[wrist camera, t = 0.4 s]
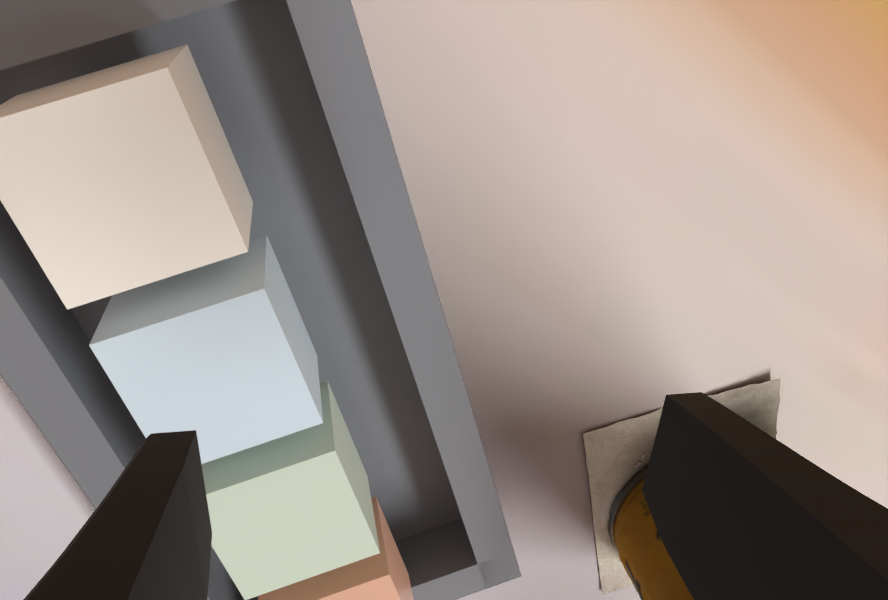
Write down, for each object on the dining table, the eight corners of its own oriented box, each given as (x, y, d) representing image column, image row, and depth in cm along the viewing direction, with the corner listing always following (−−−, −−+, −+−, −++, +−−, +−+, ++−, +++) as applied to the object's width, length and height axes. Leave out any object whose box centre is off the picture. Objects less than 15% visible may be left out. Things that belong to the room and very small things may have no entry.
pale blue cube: (183, 399, 17) (168, 475, 15) (118, 281, 16) (88, 345, 13) (316, 355, 17) (323, 423, 15) (266, 234, 16) (264, 288, 13)
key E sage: (249, 516, 19) (245, 600, 17) (197, 423, 18) (184, 501, 15) (367, 476, 20) (380, 553, 17) (327, 380, 18) (335, 450, 15)
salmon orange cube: (301, 611, 21) (304, 698, 19) (260, 536, 20) (257, 621, 17) (408, 574, 22) (424, 654, 19) (376, 496, 20) (389, 574, 17)
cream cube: (101, 249, 15) (67, 309, 13) (15, 95, 14) (-43, 131, 11) (253, 202, 15) (248, 251, 13) (187, 43, 14) (167, 67, 11)
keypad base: (225, 604, 25) (219, 684, 22) (-136, 36, 15) (-223, 57, 12) (496, 509, 25) (521, 576, 23) (313, -95, 16) (320, -101, 13)
